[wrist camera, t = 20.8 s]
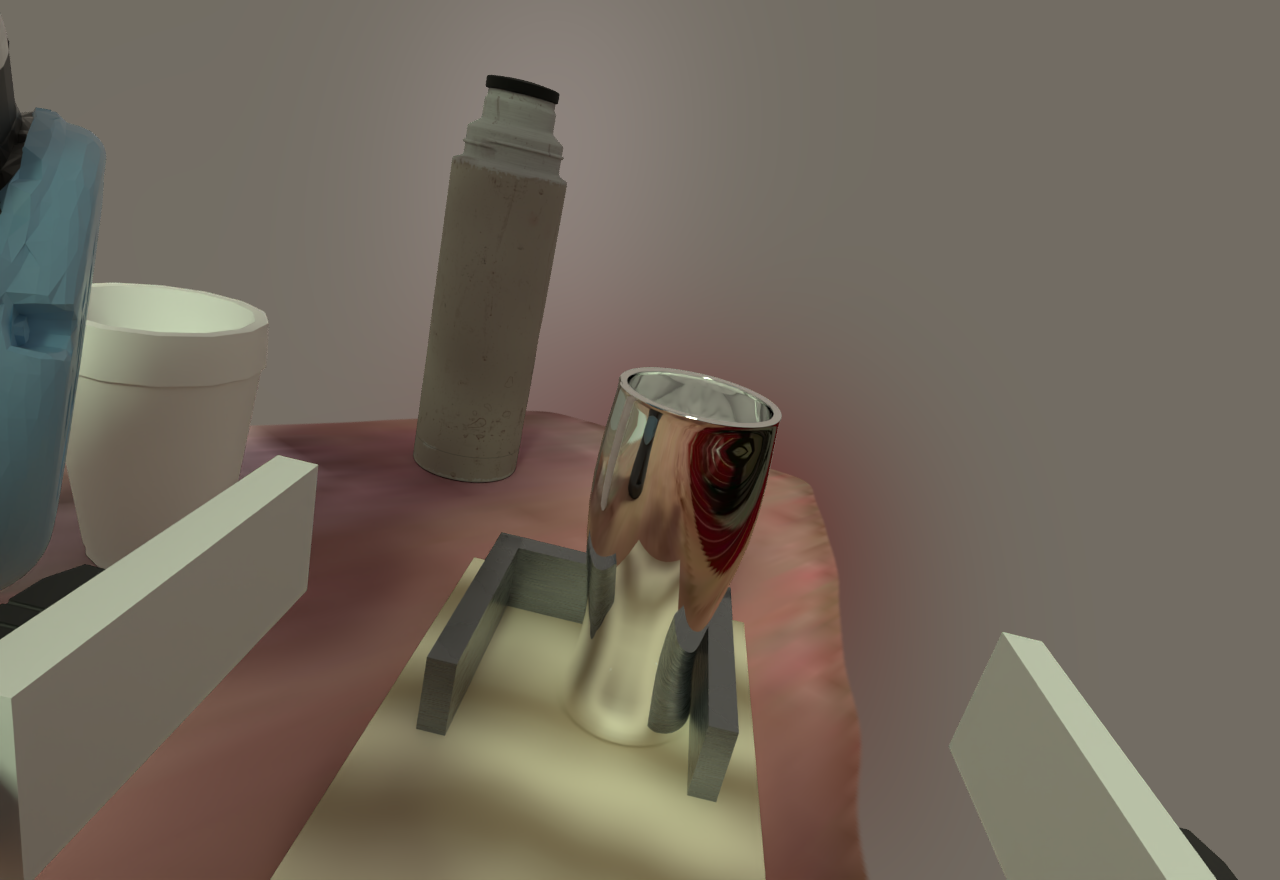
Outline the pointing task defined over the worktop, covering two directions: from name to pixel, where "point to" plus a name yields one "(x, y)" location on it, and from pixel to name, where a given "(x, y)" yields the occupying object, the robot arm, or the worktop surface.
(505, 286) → the thermos bottle
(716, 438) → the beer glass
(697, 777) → the bracket
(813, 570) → the worktop surface
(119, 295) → the foam cup
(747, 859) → the board
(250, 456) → the worktop surface
